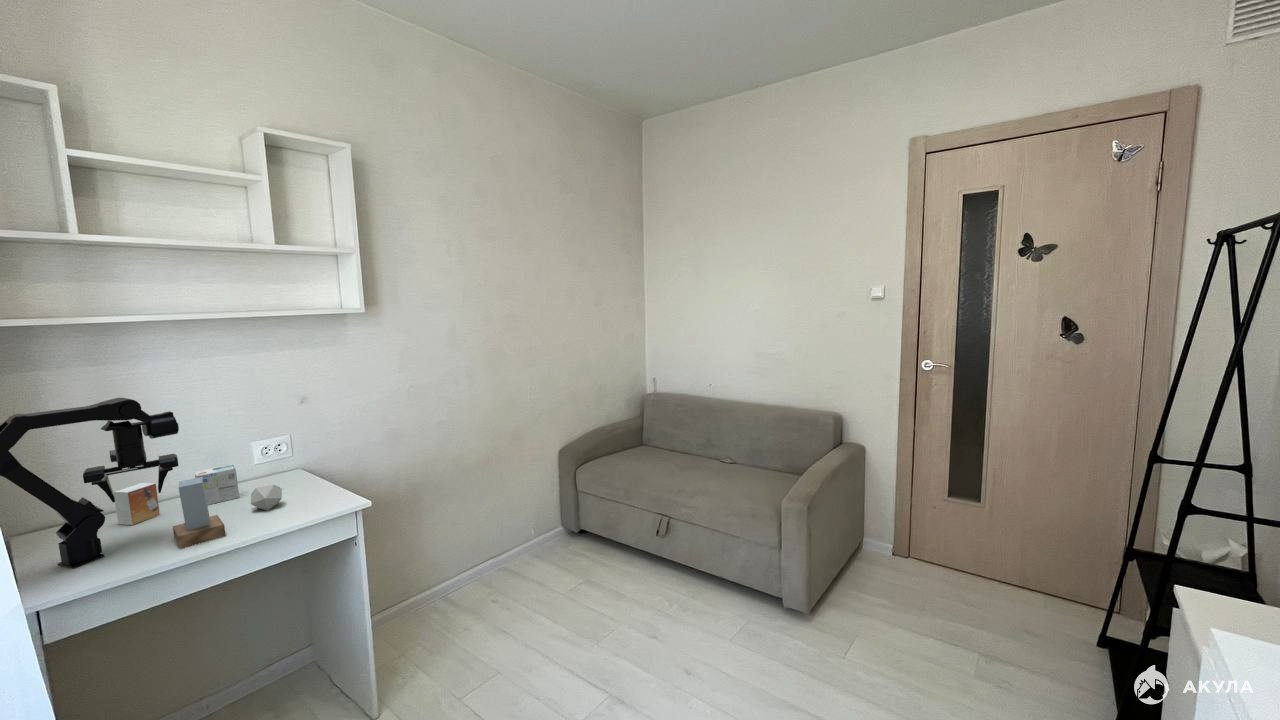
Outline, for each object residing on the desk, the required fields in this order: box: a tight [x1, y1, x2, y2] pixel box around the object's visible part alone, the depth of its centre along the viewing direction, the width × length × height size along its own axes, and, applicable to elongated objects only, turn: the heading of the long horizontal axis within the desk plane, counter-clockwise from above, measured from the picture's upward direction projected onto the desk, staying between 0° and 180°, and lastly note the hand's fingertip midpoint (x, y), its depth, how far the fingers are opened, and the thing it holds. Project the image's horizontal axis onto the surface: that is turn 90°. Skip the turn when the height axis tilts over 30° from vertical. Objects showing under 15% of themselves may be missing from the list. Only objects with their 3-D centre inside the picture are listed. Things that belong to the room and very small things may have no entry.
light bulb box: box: [194, 463, 240, 506], centre depth 176 cm, size 11×7×11 cm, turn 135°
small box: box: [113, 482, 161, 526], centre depth 161 cm, size 8×6×10 cm
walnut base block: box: [172, 514, 227, 550], centre depth 149 cm, size 10×10×4 cm
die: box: [250, 481, 283, 511], centre depth 169 cm, size 8×9×10 cm
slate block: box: [177, 477, 210, 531], centre depth 147 cm, size 5×5×13 cm
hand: (137, 497), depth 145 cm, fingers open, 9 cm apart
